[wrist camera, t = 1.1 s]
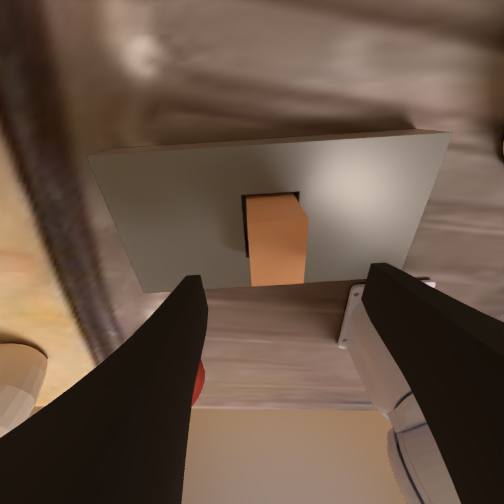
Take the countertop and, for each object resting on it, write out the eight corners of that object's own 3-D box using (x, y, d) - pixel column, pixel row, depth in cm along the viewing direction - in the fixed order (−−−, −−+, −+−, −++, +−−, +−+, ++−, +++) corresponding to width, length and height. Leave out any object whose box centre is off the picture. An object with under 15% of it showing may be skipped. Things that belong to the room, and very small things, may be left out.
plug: (286, 234, 18) (303, 283, 13) (249, 237, 18) (251, 286, 13) (287, 185, 16) (309, 219, 11) (245, 187, 16) (247, 223, 11)
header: (379, 255, 20) (398, 276, 17) (156, 270, 20) (143, 293, 17) (416, 128, 15) (453, 132, 12) (113, 148, 15) (86, 156, 12)
